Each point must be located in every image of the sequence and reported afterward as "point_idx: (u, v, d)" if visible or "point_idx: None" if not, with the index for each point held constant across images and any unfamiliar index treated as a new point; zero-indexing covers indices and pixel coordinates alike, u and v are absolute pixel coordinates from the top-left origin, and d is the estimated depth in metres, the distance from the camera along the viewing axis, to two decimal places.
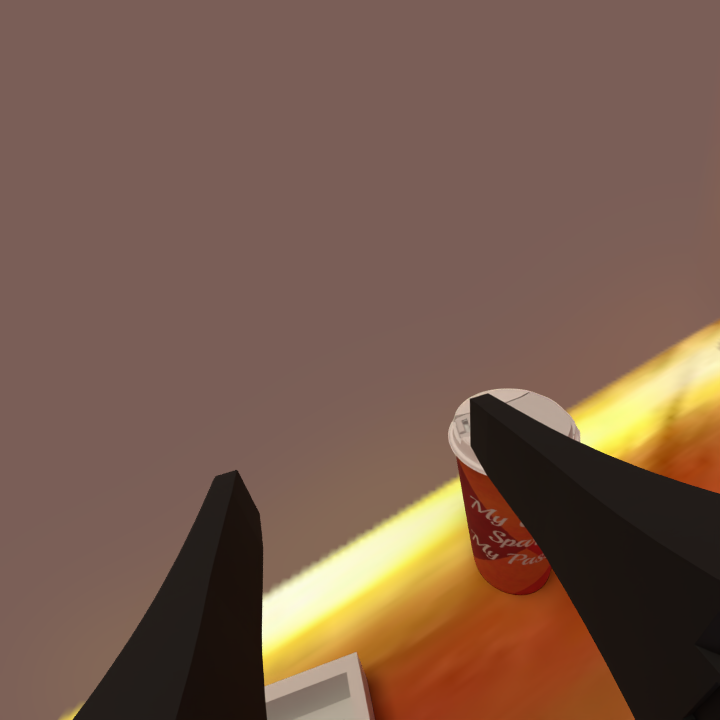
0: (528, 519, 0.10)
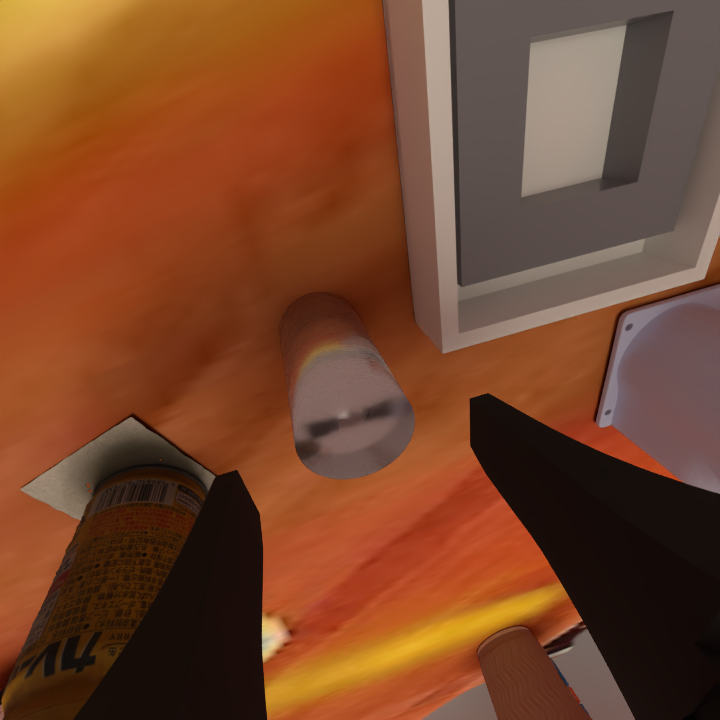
0: (528, 519, 0.10)
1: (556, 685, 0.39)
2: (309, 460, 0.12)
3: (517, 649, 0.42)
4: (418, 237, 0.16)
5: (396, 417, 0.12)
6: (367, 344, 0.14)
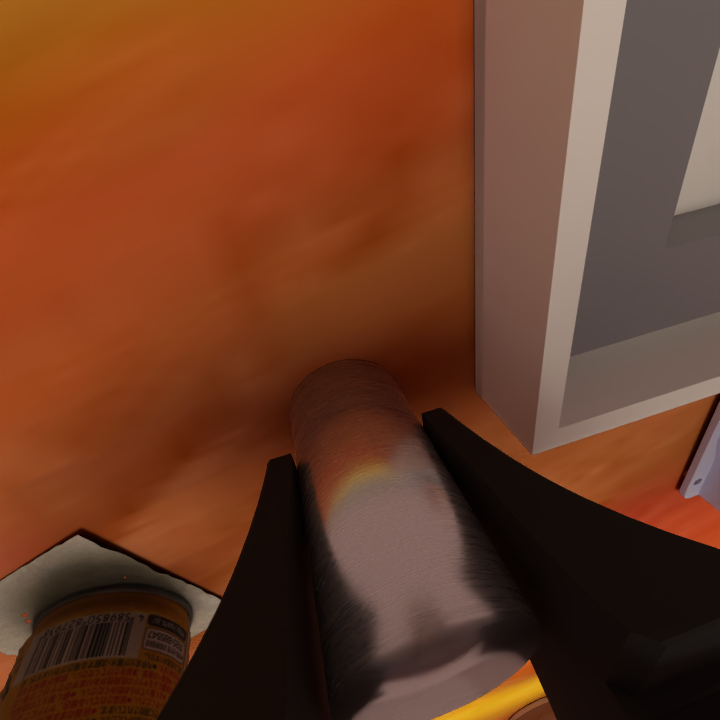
0: None
1: None
2: None
3: None
4: (503, 288, 0.10)
5: (512, 644, 0.07)
6: (439, 476, 0.09)
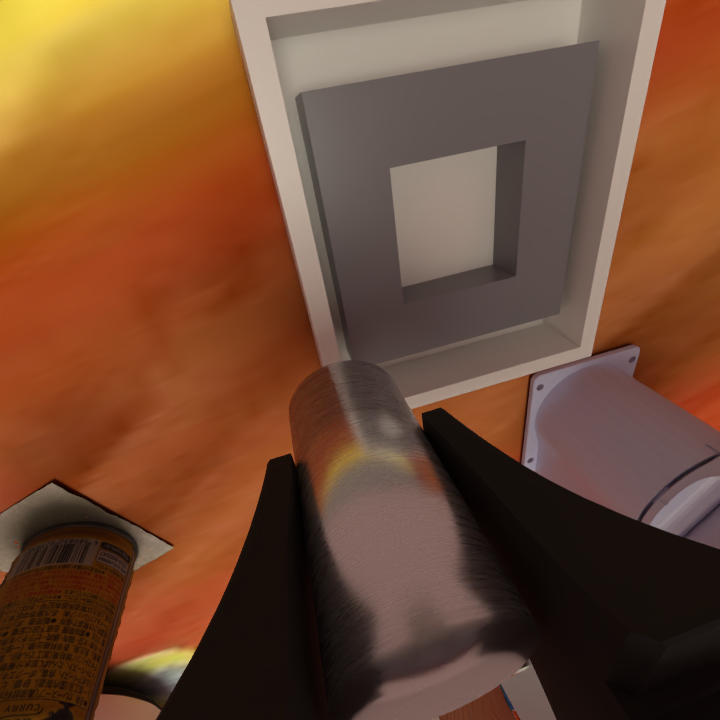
0: None
1: (499, 709, 0.40)
2: None
3: None
4: (312, 326, 0.17)
5: (510, 646, 0.07)
6: (439, 477, 0.09)
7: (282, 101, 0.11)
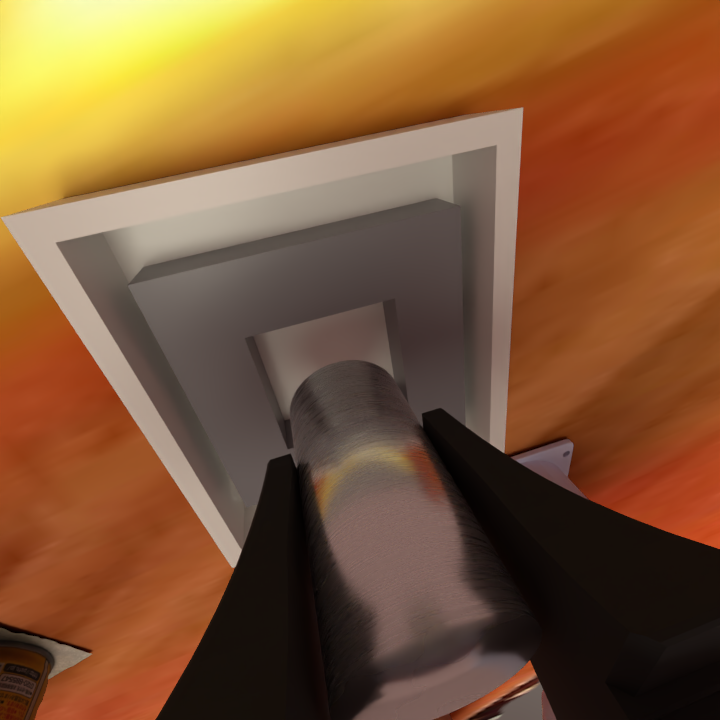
0: None
1: None
2: None
3: None
4: None
5: (513, 647, 0.07)
6: (442, 477, 0.09)
7: (94, 309, 0.11)
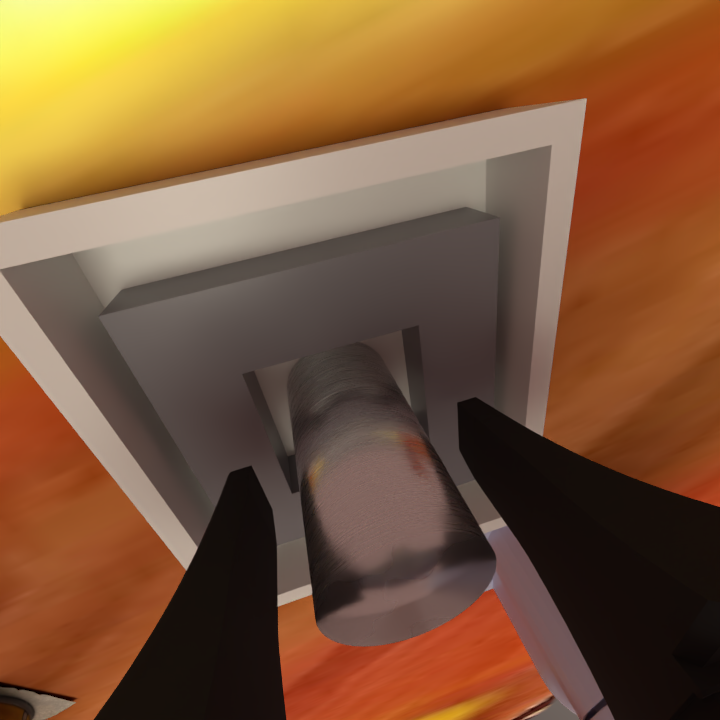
0: (514, 524, 0.10)
1: None
2: (335, 631, 0.08)
3: None
4: None
5: (471, 569, 0.08)
6: (417, 435, 0.10)
7: (54, 349, 0.09)
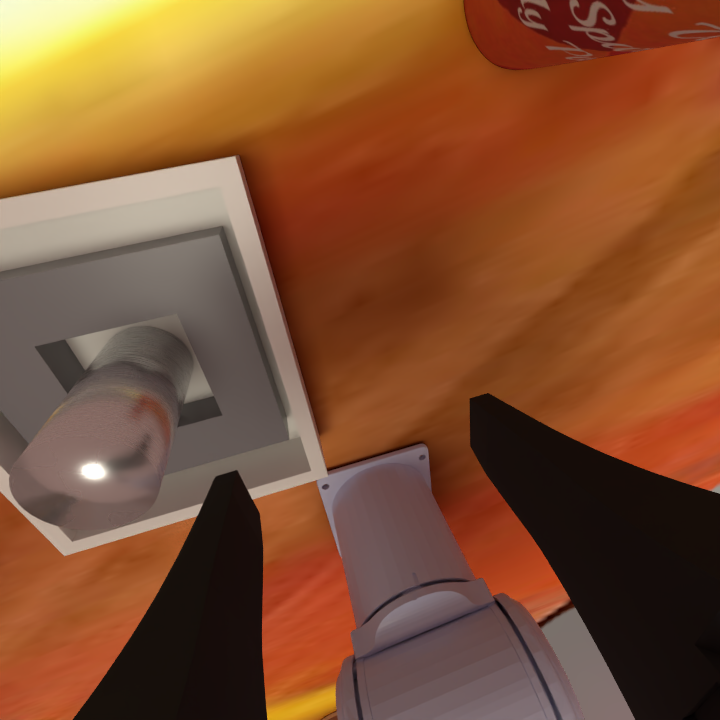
0: (528, 519, 0.10)
1: None
2: (37, 511, 0.12)
3: None
4: None
5: (133, 470, 0.12)
6: (140, 388, 0.14)
7: None
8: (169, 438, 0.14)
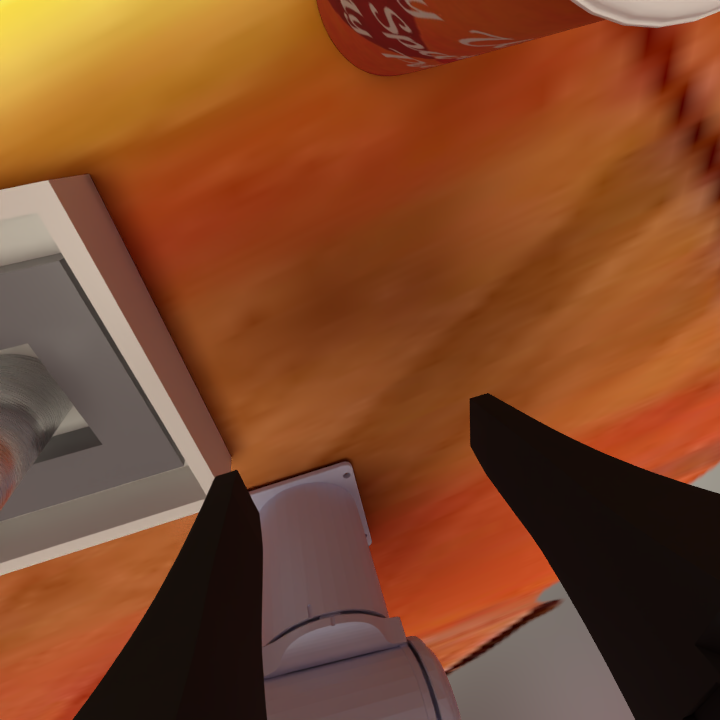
0: (528, 519, 0.10)
1: None
2: None
3: None
4: None
5: None
6: None
7: None
8: (1, 480, 0.13)
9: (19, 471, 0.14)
